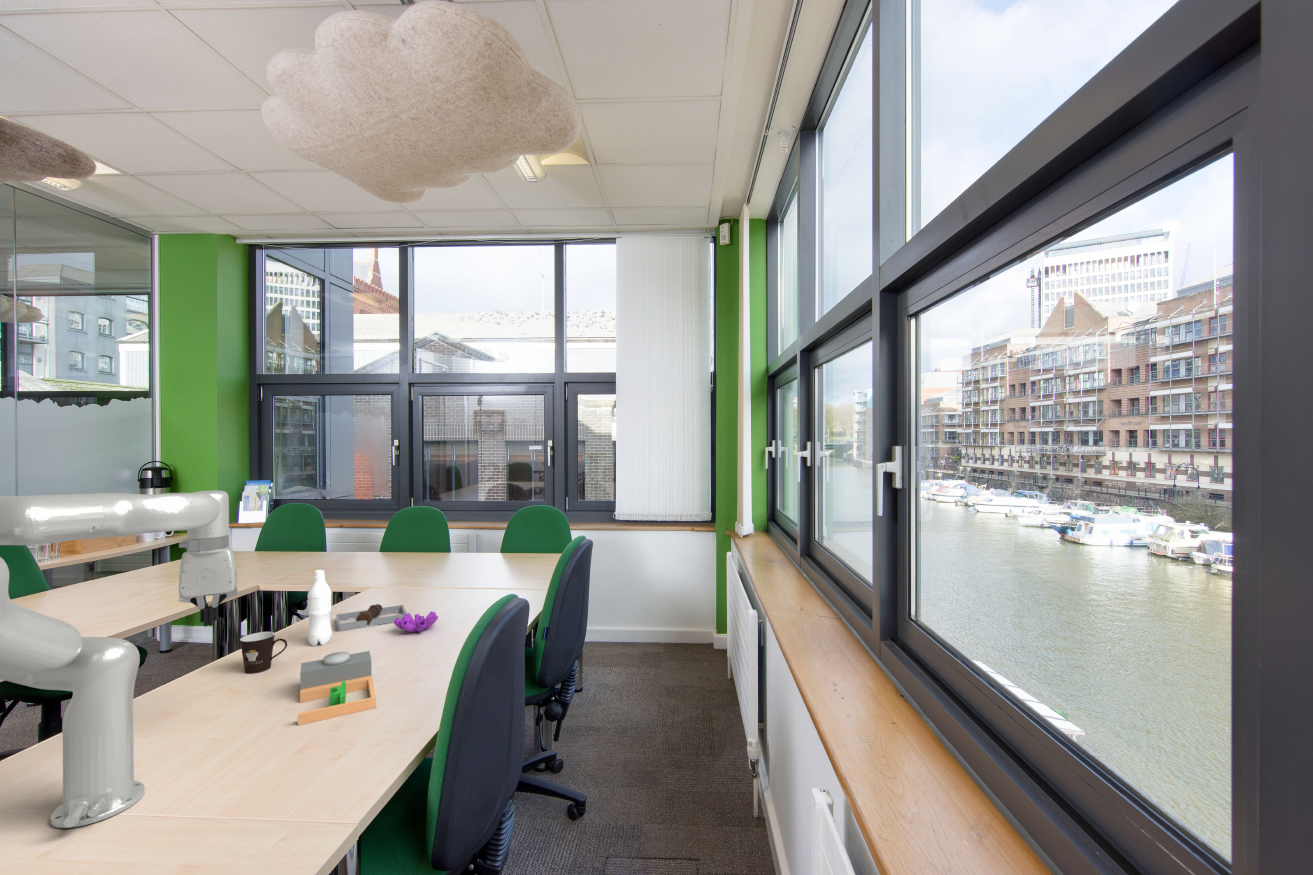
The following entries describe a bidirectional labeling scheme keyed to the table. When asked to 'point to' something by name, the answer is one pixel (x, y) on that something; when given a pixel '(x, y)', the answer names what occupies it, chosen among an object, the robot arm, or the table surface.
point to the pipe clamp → (337, 694)
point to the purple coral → (416, 622)
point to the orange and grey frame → (336, 684)
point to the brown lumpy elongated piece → (370, 613)
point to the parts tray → (364, 623)
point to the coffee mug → (258, 651)
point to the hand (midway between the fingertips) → (209, 624)
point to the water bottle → (319, 610)
